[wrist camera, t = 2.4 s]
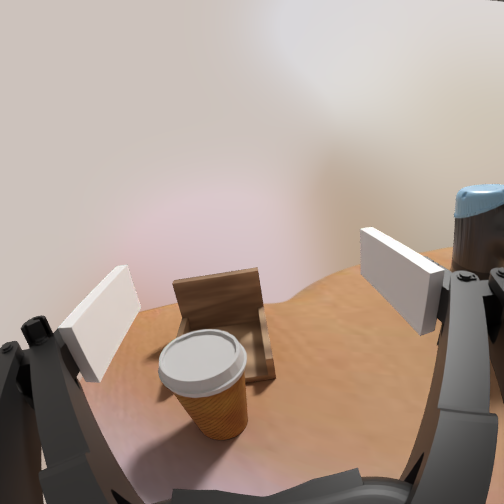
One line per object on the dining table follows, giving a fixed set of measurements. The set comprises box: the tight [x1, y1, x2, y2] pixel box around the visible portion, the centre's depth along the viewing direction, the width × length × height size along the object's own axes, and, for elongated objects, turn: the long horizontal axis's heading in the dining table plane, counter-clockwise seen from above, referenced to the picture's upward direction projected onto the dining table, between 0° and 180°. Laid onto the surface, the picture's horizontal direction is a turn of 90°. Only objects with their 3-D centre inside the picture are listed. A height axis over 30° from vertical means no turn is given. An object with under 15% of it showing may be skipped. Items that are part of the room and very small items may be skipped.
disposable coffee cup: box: [158, 329, 248, 440], centre depth 29 cm, size 10×10×12 cm
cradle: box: [172, 267, 276, 383], centre depth 43 cm, size 16×15×11 cm
